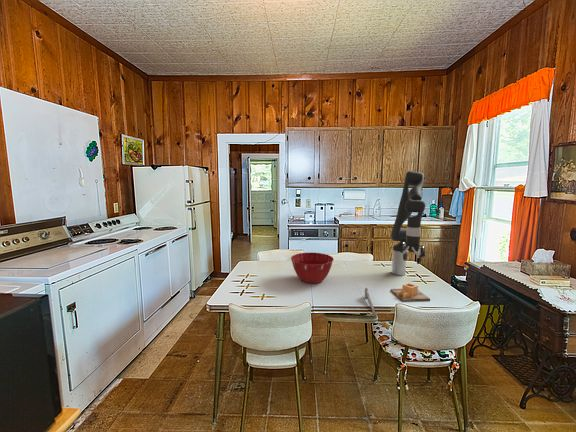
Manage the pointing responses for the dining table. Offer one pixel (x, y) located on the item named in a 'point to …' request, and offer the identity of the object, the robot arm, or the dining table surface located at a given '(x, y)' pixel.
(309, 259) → the mixing bowl
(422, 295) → the post board
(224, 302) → the dining table surface
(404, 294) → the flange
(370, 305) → the caliper
